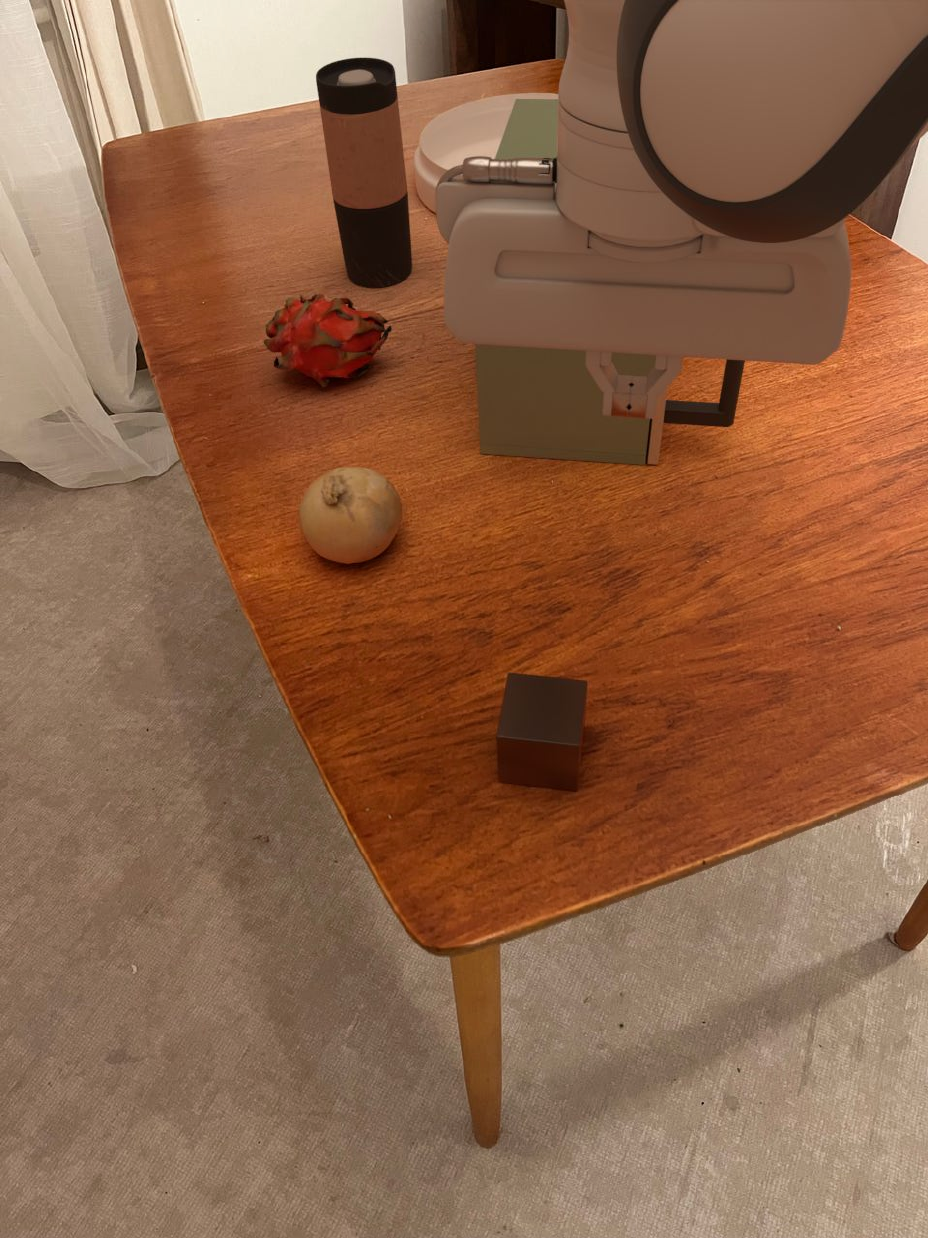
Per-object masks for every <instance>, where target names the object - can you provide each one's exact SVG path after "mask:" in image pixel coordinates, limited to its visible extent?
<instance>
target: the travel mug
mask: <svg viewBox="0 0 928 1238" xmlns="http://www.w3.org/2000/svg"><path fill="white" fill-rule="evenodd" d="M396 77H397V75H396V68H395V67H394V65H393V64H392V63H391V62H389V61H387V60H385V59H381V58H377V57H351V58H345V59H339V60H336V61H332V62H330V63H327V64H325V65H323V66H322V67H320V68H319V69H318V70H317V72H316V74H315V82H316V89H317V96H318V103H319V111H320V119H321V124H322V132H323V139H324V146H325V153H326V159H327V166H328V174H329V180H330V189H331V195H332V198H333V199H332V201H333V206H334V212H335V216H336V223H337V227H338V233H339V238H340V244H341V250H342V254H343V261H344V266H345V270H346V274H347V277H348V279H349V280H350V282H352V283H353V284H354V285H357V286H360V287H363V288H364V287H365V288H386V287H390V286H394V285H397V284H400V283H402V282H403V281H404V280H406V279H407V278H409V277H410V275H411V274H412V271H413V257H412V256H413V255H412V241H411V240H412V239H411V238H412V237H411V227H410V226H411V225H410V224H411V223H410V211H409V207H410V206H409V194H408V193H409V192H408V182H407V173H406V172H407V171H406V164H405V153H404V147H403V146H404V144H403V135H402V126H401V125H402V123H401V117H400V106H399V97H398V87H397V78H396Z"/></svg>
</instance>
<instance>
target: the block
mask: <svg viewBox="0 0 928 1238" xmlns="http://www.w3.org/2000/svg"><path fill="white" fill-rule="evenodd" d="M588 683H589V682H588V680H585V679H577V678H576V679H575V678H568V677H567V678H566V677H556V676H547V675H538V674H527V673H518V672H508V673H507V676H506V682H505V687H504V692H503V698H502V702H501V707H500V712H499V713H500V714H499V718H498V724H497V729H496V734H495V742H496V762H497V781H498V783H502V784H512V785H518V786H527V787H528V786H529V787H535V788H545V789H551V790H559V791H561V790H562V791H569V792H578V788H579V782H580V781H579V780H580V771H581V763H582V754H583V745H584V736H585V728H586V727H585V726H586V715H587V714H586V713H587V712H586V711H587V698H588V697H587V696H588Z"/></svg>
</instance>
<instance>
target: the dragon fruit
mask: <svg viewBox="0 0 928 1238" xmlns="http://www.w3.org/2000/svg"><path fill="white" fill-rule="evenodd" d="M346 305H347V306H346ZM353 305H354V303H353V301H352V300H351V298H349V297H340V298H338V297H333V299H331V300H326V298H325V295H324V294H323V293H315V294H313V295H312V296H311V298H308V299H306V297H304V295H302V294H299V299H298V298H296V297H295V296H294V297H288V298H287V299H285V304H284V307H283V308H281V309H277V310H276V311H275V313H274V316H273V317H272V319H271V320H270V321H268V323H265V334H266V336H267V337H268V338H266V339H264V340H263V341H262V343H263V344H264V346H265V347H266V349H267V351H269V352H271V353H280V354H281V356H280V360H279V358H278V356H276V357H275V359H274V360H273V368H276V369H278V370H280V371H287V372H290V371H293V370H294V369H297V370H298V371H300V372H301V373H302V374H304V375H305V377H306V378H312V379H314V380H315V381H316V383H318V384H319V385H320V388H326V387H328V385H329V382H330V379H328V378H344V379H353V380H355V379H357V378H359V377H361V376H363V375H364V374H366V373H367V372H368V371H371V369H372V368H373V366H372V365H366V364H368V363H370V362H371V361H372V360H373V358H374V356H375V355H376V353H377V352H378V351H380V350H381V347H382V346H383V344H385V343H386V341H387V339H388V337H389V334H390V333H391V332H392V329H393V328H392V325H388V327H386V328H385V324H387V323H388V322H389V321H388V320H387V319H386V318H384V316H383V315H381V314H380V312H375V311H372V310H356V308H355V307H353ZM364 365H366V366H364Z"/></svg>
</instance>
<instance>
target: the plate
mask: <svg viewBox="0 0 928 1238" xmlns="http://www.w3.org/2000/svg"><path fill="white" fill-rule="evenodd" d="M516 99H558V93H552V92H551V93H549V92H521V93H509V94H502V95H501V94H500V95H495V96H489V97H484V98H480V99H477V100H476V99H475V100H471V101H468V102H465V103H462V104H460V105H457V106H455V107H452V108H449V109H447V110H445V111H444V112H442V113H440V114H439V115H436V117H434V118H433V119H431V120H430V121H428V123H427V124H426V125H425V127H423V129H422V131H421V133H420V135H419V140H418V141H419V145H418V146H417V148H416V150H415V152H414V155H413V166H414V167H413V169H414V170H413V171H414V178H415V179H414V180H415V189H416V193H417V196H418V197H419V200H420V201H421V202H422V203H423V205H424V206H425V207H427V208H428V209H429V210H430V211H431V212H432V213H434V214H436V206H435V190H436V186H437V184H438V182H439V180H440V178H441V177H442V176H443V174H444V173H445V172H447V171H448V170H449V169H451V168H453V167H455V166H459V165H463V160H464V159H465V158H468V157H475V156H486V157H491V158H492V159H495V157H496V154H497V151H498V148H499V145H500V143H501V140H502V137H503V134H504V131H505V129H506V126H507V123H508V120H509V117H510V115H511V112H512V109H513V106H514V103H515V101H516ZM453 178H463V174H460V175H457V176H455V177H453Z"/></svg>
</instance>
